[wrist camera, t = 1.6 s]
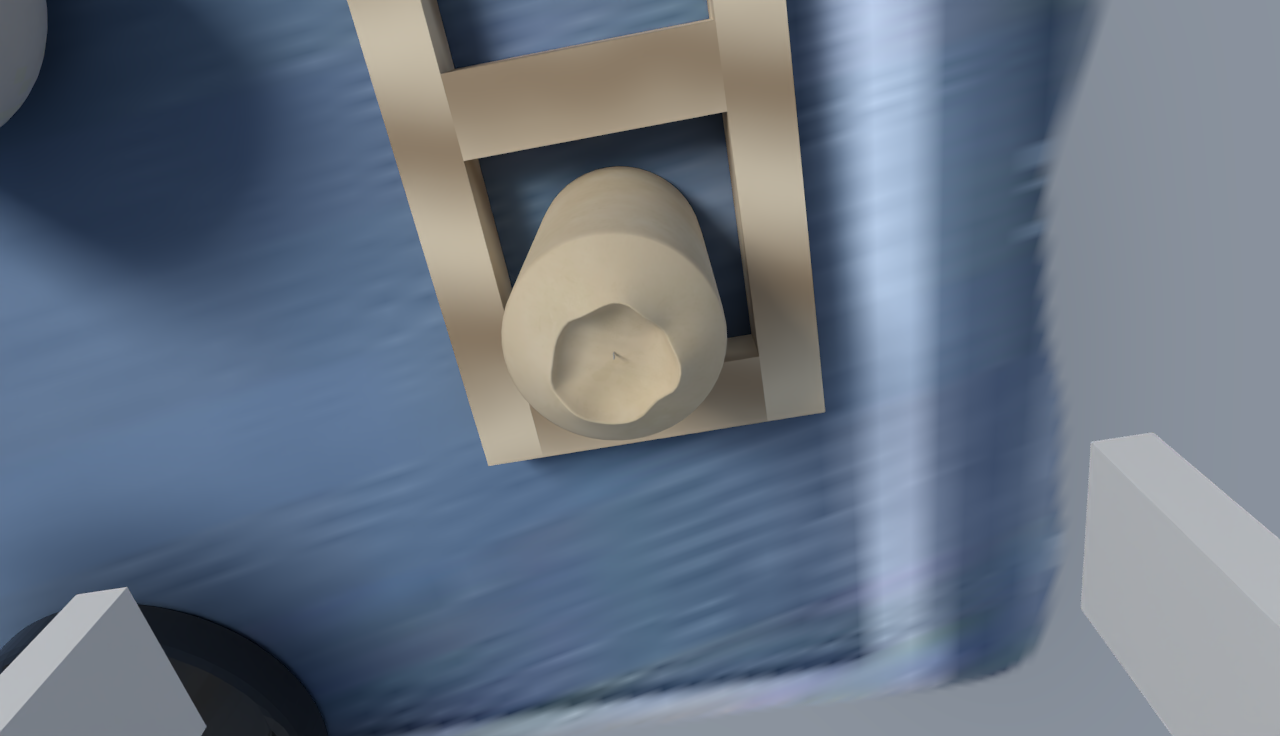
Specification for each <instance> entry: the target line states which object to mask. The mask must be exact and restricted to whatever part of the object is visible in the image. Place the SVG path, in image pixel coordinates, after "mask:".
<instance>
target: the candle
mask: <svg viewBox="0 0 1280 736" xmlns="http://www.w3.org/2000/svg"><path fill="white" fill-rule="evenodd" d="M501 335H502V349H503V354H504V359H505V362H506V365H507V369H508V372H509V374H510V376H511V378H512V380H513V382H514V384H515V385H516V387H517V388H518V390H519V392H520V393H521V395H522V396H523V397H524V398H525V399H526V401H527V402H528V403H529V404H530V405H531V406H532V407H533V408H534V409H535V410H536V411H537V412H539V413H540V414H541V415H542V416H544V417H545V418H546V419H548V420H549V421H551V422H552V423H554V424H556V425H558V426H559V427H561V428H563V429H565V430H568V431H570V432H573V433H575V434H578V435H582V436H585V437H589V438H595V439H601V440H630V439H637V438H642V437H646V436H650V435H653V434H656V433H659V432H661V431H663V430H665V429H668V428H670V427H672V426H674V425H675V424H677V423H678V422H680V421H682V420H683V419H685V418H686V417H687V416H688V415H690V414H691V413H692V412H693V411H694V410H695V409H696V408H697V407H698V406H699V405H700V404H701V403H702V402H703V401H704V400H705V398H706V397H707V396H708V394H709V393H710V392H711V390H712V388H713V387H714V385H715V383H716V381H717V379H718V377H719V375H720V372H721V370H722V367H723V363H724V359H725V355H726V347H727V326H726V320H725V315H724V311H723V307H722V303H721V300H720V296H719V292H718V289H717V285H716V282H715V278H714V275H713V271H712V267H711V264H710V260H709V257H708V253H707V250H706V246H705V242H704V239H703V235H702V232H701V229H700V226H699V223H698V220H697V218H696V215H695V213H694V211H693V209H692V207H691V206H690V204H689V203H688V201H687V200H686V198H685V197H684V196H683V195H682V194H681V193H680V192H679V190H678V189H676V188H675V187H674V186H673V185H672V184H671V183H669V182H668V181H666V180H665V179H663V178H661V177H660V176H658V175H656V174H653V173H651V172H649V171H646V170H643V169H639V168H634V167H625V166H615V167H606V168H602V169H597V170H594V171H592V172H589V173H586V174H584V175H582V176H581V177H579V178H577V179H575V180H574V181H572V182H571V183H570V184H568V185H567V186H566V187H565V188H564V189H563V190H562V191H561V192H560V193H559V194H558V195H557V196H556V198H555V199H554V200H553V202H552V203H551V205H550V207H549V208H548V210H547V212H546V214H545V216H544V218H543V220H542V223H541V225H540V227H539V229H538V232H537V234H536V236H535V239H534V241H533V243H532V245H531V248H530V250H529V252H528V255H527V257H526V259H525V262H524V264H523V266H522V268H521V271H520V273H519V275H518V278H517V280H516V282H515V285H514V287H513V289H512V292H511V294H510V296H509V299H508V301H507V304H506V307H505V311H504V315H503V321H502V330H501Z"/></svg>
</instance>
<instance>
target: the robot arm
mask: <svg viewBox="0 0 1280 736" xmlns="http://www.w3.org/2000/svg"><path fill="white" fill-rule="evenodd" d="M1081 610H1082V611H1083V612H1084V614H1085V615H1086V617H1087V618H1088V619H1089V621H1090V622H1091V624H1092V625H1093V626H1094V628H1095V629H1096V631H1097V632H1098V633H1099V635H1100V636H1101V637H1102V639H1103V640H1104V642H1105V643H1106V644H1107V646H1108V647H1109V649H1110V650H1111V651H1112V653H1113V654H1114V656H1116V658H1117V660H1118V661H1119V662H1120V664H1121V665H1122V667H1123V668H1124V669H1125V671H1126V672H1127V674H1128V675H1129V676H1130V678H1131V679H1132V681H1133V682H1134V683H1135V685H1136V686H1137V687H1138V689H1139V690H1140V692H1141V693H1142V694H1143V696H1144V697H1145V699H1146V700H1147V701H1148V703H1149V704H1150V705H1151V707H1152V708H1153V710H1154V711H1155V712H1156V714H1157V715H1158V717H1159V718H1160V719H1161V721H1162V722H1163V724H1164V725H1165V726H1166V728H1167V729H1168V730H1169V732H1170V733H1171V735H1172V736H1280V539H1279V538H1277V537H1276V536H1275V535H1274V534H1273V533H1272V532H1270V531H1269V530H1268V529H1267V528H1266V527H1264V526H1263V525H1262V524H1261V523H1260V522H1259V521H1257V520H1256V519H1255V518H1254V517H1253V516H1251V515H1250V514H1249V513H1248V512H1247V511H1245V510H1244V509H1243V508H1242V507H1241V506H1240V505H1238V504H1237V503H1236V502H1235V501H1234V500H1233V499H1231V498H1230V497H1229V496H1228V495H1227V494H1225V493H1224V492H1223V491H1222V490H1221V489H1219V488H1218V487H1217V486H1216V485H1215V484H1214V483H1212V482H1211V481H1210V480H1209V479H1208V478H1206V477H1205V476H1204V475H1203V474H1202V473H1200V472H1199V471H1198V470H1197V469H1196V468H1195V467H1193V466H1192V465H1191V464H1190V463H1189V462H1187V461H1186V460H1185V459H1184V458H1183V457H1182V456H1180V455H1179V454H1178V453H1177V452H1176V451H1175V450H1173V449H1172V448H1171V447H1170V446H1169V445H1167V444H1166V443H1165V442H1164V441H1163V440H1162V439H1160V438H1159V437H1158V436H1157V435H1156V434H1155V433H1146V434H1140V435H1133V436H1126V437H1119V438H1113V439H1106V440H1099V441H1094V442H1091V449H1090V465H1089V481H1088V498H1087V516H1086V531H1085V547H1084V563H1083V579H1082V595H1081ZM0 736H328V735H327V731H326V727H325V724H324V721H323V719H322V716H321V714H320V712H319V710H318V708H317V706H316V704H315V703H314V701H313V699H312V698H311V696H310V695H309V693H308V692H307V691H306V689H305V688H304V687H303V685H302V684H301V683H300V682H299V681H298V679H297V678H296V677H295V676H294V675H293V674H292V673H291V672H290V671H289V670H288V669H287V668H286V667H285V666H283V665H282V664H281V663H280V662H279V661H278V660H276V659H275V658H274V657H273V656H271V655H270V654H269V653H267V652H266V651H265V650H263V649H262V648H260V647H259V646H257V645H256V644H254V643H252V642H251V641H249V640H248V639H246V638H244V637H242V636H240V635H238V634H237V633H235V632H233V631H230V630H228V629H226V628H224V627H222V626H220V625H217V624H215V623H212V622H210V621H207V620H204V619H201V618H199V617H195V616H192V615H189V614H185V613H182V612H178V611H173V610H169V609H164V608H158V607H152V606H144V605H137V603H136V601H135V600H134V598H133V596H132V594H131V593H130V591H129V589H128V587H124V588H117V589H110V590H104V591H97V592H91V593H84V594H77V595H76V596H75V597H74V598H73V599H72V600H71V601H70V602H69V603H68V604H67V605H66V606H65V607H64V608H63V609H62V610H61V611H60V612H58V613H55V614H52V615H50V616H47V617H45V618H42V619H40V620H38V621H36V622H34V623H33V624H31V625H29V626H28V627H26V628H24V629H23V630H22V631H20V632H19V633H18V634H16V635H15V636H14V637H13V638H12V639H11V640H10V641H9V642H8V643H7V644H6V645H5V646H4V647H3V648H2V649H1V650H0Z"/></svg>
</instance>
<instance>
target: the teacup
mask: <svg viewBox="0 0 1280 736" xmlns="http://www.w3.org/2000/svg"><path fill="white" fill-rule="evenodd" d="M47 29H48V27H47V4H46V0H0V127H1V126H2V125H4V124H5V123H6V122H7V121H8V120H9V119H10V118H11V117H12V116H13V115H14V113H15V112H16V111H17V110H18V109H19V108H20V107H21V105H22V104H23V102H24V101H25V100H26V98H27V97H28V95H29V93H30V91H31V89H32V87H33V85H34V83H35V82H36V80H37V78H38V75H39V71H40V68H41V65H42V61H43V58H44V53H45V46H46V38H47Z"/></svg>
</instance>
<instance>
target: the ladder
mask: <svg viewBox="0 0 1280 736" xmlns="http://www.w3.org/2000/svg"><path fill="white" fill-rule="evenodd" d="M347 1H348V5H349V8H350V11H351V15H352V18H353V21H354V24H355V28H356V31H357V34H358V38H359V41H360V44H361V48H362V51H363V54H364V57H365V61H366V64H367V67H368V71H369V74H370V77H371V80H372V84H373V87H374V90H375V94H376V97H377V100H378V103H379V107H380V110H381V113H382V117H383V120H384V123H385V127H386V130H387V133H388V136H389V140H390V143H391V146H392V150H393V153H394V156H395V159H396V163H397V166H398V169H399V173H400V176H401V179H402V183H403V186H404V189H405V192H406V196H407V199H408V202H409V206H410V209H411V212H412V215H413V219H414V222H415V225H416V229H417V232H418V235H419V239H420V242H421V245H422V248H423V252H424V255H425V258H426V262H427V265H428V268H429V271H430V275H431V278H432V281H433V285H434V288H435V291H436V294H437V298H438V301H439V304H440V308H441V311H442V314H443V318H444V321H445V324H446V327H447V331H448V334H449V337H450V341H451V344H452V347H453V350H454V354H455V357H456V360H457V364H458V367H459V370H460V374H461V377H462V380H463V383H464V387H465V390H466V393H467V397H468V400H469V403H470V406H471V410H472V413H473V416H474V420H475V423H476V426H477V430H478V433H479V436H480V439H481V443H482V446H483V449H484V453H485V456H486V459H487V462H488V466H492V465H498V464H504V463H510V462H517V461H523V460H529V459H535V458H542V457H548V456H554V455H560V454H567V453H573V452H579V451H585V450H592V449H598V448H604V447H610V446H617V445H623V444H629V443H635V442H642V441H648V440H654V439H660V438H667V437H673V436H679V435H686V434H692V433H698V432H704V431H711V430H717V429H723V428H729V427H736V426H742V425H748V424H754V423H761V422H767V421H773V420H779V419H786V418H792V417H798V416H804V415H811V414H817V413H823V412H825V404H824V394H823V383H822V373H821V363H820V352H819V342H818V331H817V321H816V310H815V300H814V289H813V279H812V269H811V258H810V248H809V237H808V227H807V216H806V206H805V195H804V185H803V175H802V164H801V154H800V143H799V133H798V122H797V112H796V101H795V91H794V81H793V70H792V60H791V49H790V39H789V28H788V18H787V7H786V0H707V4H708V11H709V19H706V20H701V21H696V22H691V23H686V24H681V25H676V26H670V27H665V28H660V29H655V30H650V31H645V32H640V33H635V34H630V35H625V36H620V37H615V38H610V39H604V40H599V41H594V42H589V43H584V44H579V45H574V46H569V47H564V48H559V49H554V50H549V51H544V52H538V53H533V54H528V55H523V56H518V57H513V58H508V59H503V60H498V61H493V62H488V63H483V64H477V65H472V66H467V67H462V68H457V69H455V68H454V64H453V61H452V57H451V53H450V49H449V45H448V42H447V38H446V34H445V30H444V26H443V22H442V19H441V15H440V11H439V7H438V3H437V0H347ZM716 113H722V116H723V124H724V131H725V139H726V146H727V154H728V161H729V169H730V177H731V184H732V192H733V199H734V207H735V214H736V222H737V229H738V237H739V244H740V252H741V259H742V267H743V274H744V282H745V289H746V297H747V304H748V312H749V319H750V327H751V334H749V335H743V336H737V337H731V338H727V347H726V355H725V359H724V363H723V367H722V370H721V372H720V375H719V377H718V379H717V381H716V383H715V385H714V387H713V388H712V390H711V392H710V393H709V394H708V396H707V397H706V398H705V400H704V401H703V402H702V403H701V404H700V405H699V406H698V407H697V408H696V409H695V410H694V411H693V412H692V413H691V414H690V415H688V416H687V417H686V418H685V419H683V420H682V421H680V422H678V423H677V424H675V425H674V426H672V427H670V428H668V429H665V430H663V431H661V432H659V433H656V434H653V435H650V436H646V437H642V438H637V439H630V440H601V439H595V438H589V437H585V436H582V435H578V434H575V433H573V432H570V431H568V430H565V429H563V428H561V427H559V426H558V425H556V424H554V423H552V422H551V421H549V420H548V419H546V418H545V417H544V416H542V415H541V414H540V413H539V412H537V411H536V410H535V409H534V408H533V407H532V406H531V405H530V404H529V403H528V402H527V401H526V399H525V398H524V397H523V396H522V395H521V393H520V392H519V390H518V388H517V387H516V385H515V384H514V382H513V380H512V378H511V376H510V374H509V372H508V369H507V365H506V362H505V359H504V354H503V349H502V335H501V330H502V321H503V315H504V311H505V307H506V304H507V301H508V299H509V296H510V294H511V292H512V287H511V283H510V279H509V275H508V271H507V267H506V264H505V260H504V256H503V252H502V248H501V244H500V241H499V237H498V233H497V229H496V225H495V221H494V218H493V214H492V210H491V206H490V202H489V198H488V195H487V191H486V187H485V183H484V179H483V176H482V172H481V168H480V164H479V160H478V158H483V157H488V156H493V155H499V154H504V153H509V152H515V151H520V150H525V149H531V148H536V147H541V146H546V145H552V144H557V143H562V142H568V141H573V140H578V139H584V138H589V137H594V136H600V135H605V134H610V133H616V132H621V131H626V130H631V129H637V128H642V127H647V126H653V125H658V124H663V123H669V122H674V121H679V120H685V119H690V118H695V117H701V116H706V115H711V114H716Z"/></svg>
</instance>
